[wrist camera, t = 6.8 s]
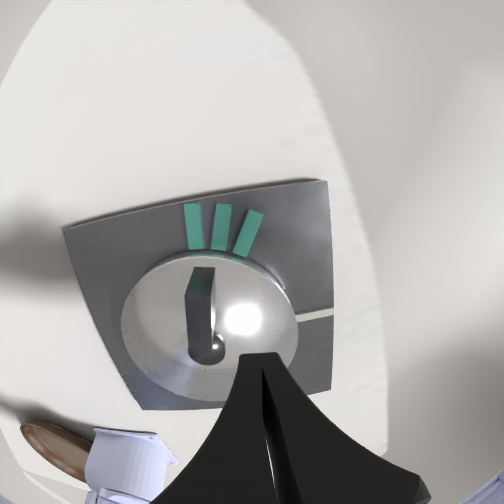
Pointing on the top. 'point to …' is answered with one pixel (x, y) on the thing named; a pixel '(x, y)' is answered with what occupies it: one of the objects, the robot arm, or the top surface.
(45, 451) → the plant saucer
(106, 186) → the top surface
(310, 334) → the panel
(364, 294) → the top surface
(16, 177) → the top surface
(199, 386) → the dial
